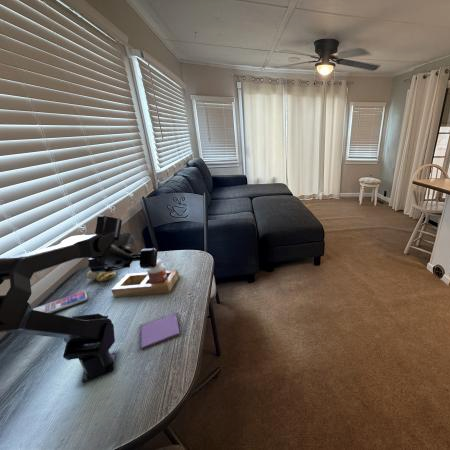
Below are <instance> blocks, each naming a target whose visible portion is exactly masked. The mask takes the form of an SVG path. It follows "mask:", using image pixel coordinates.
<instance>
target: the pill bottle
mask: <svg viewBox="0 0 450 450" xmlns="http://www.w3.org/2000/svg"><path fill="white" fill-rule="evenodd" d="M166 271H167V270H166V266H165V265H164V264H162V261H161V259H160V258H157V263H156V266H155V267H154V268H146V272H147V273H148V276H149V280H150V283H163V282H165V281H166V279H167V274H166Z"/></svg>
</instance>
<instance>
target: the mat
mask: <svg viewBox="0 0 450 450" xmlns="http://www.w3.org/2000/svg"><path fill="white" fill-rule="evenodd" d="M140 330H141V331H140V333H141V335H140V336H141V341H140V342H141V343H140V344H141V349H145V348H147V347H151V346H153V345H155V344H157V343H160V342H163V341H166V340H168V339H170V338H173V337H175V336H176V337H177V336H178V335H180V330H179V324H178V319H177V313H174V314H171V315H168V316H165V317H162V318H159V319H157V320H154V321H151V322H148V323H145V324H142V325H141V329H140Z"/></svg>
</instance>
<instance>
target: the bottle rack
mask: <svg viewBox="0 0 450 450" xmlns="http://www.w3.org/2000/svg"><path fill="white" fill-rule="evenodd" d="M166 274H167V279H166V281H165V282H163V283H150V280H149V276H148V273H147V271H144V272H133V273H132V272H131V273H126V274H125V276H123V277H122V278H121V279H120V280H119V281H118V282H117V283H116V284H115V285H114V286H113V287H112V288H111V289H110V290H111V293H112V297H113V298H120V297H131V296H133V297H134V296H141V295H155V294H165V293H170V292H171V290H172V289H173V287H174V285H175V284H176V283H177V281H178V280H179V278H180V274H179V270H178V269H171V270H170V269H169V270H166ZM136 283H139V284H136Z"/></svg>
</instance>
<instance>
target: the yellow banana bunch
mask: <svg viewBox="0 0 450 450" xmlns="http://www.w3.org/2000/svg"><path fill="white" fill-rule="evenodd" d="M116 275H117V274H116V270H115V271H111V272H100V273H95V272H92V271H91V270H90V269H89V271H88V272H87V274H86V277H87V279H88V280H96V281H97V282H103V281H107V280H111V279H113V278H114V277H115V276H116Z"/></svg>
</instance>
